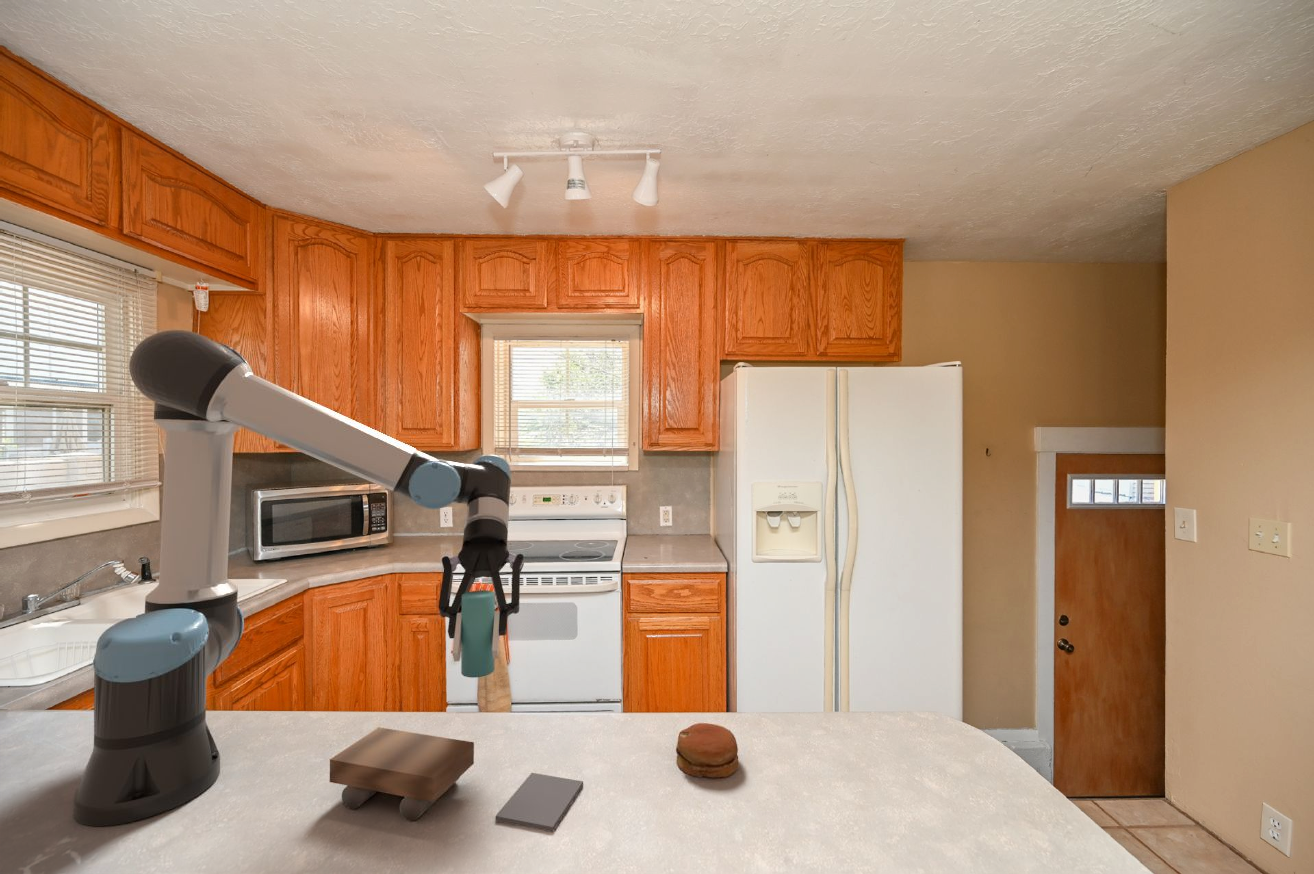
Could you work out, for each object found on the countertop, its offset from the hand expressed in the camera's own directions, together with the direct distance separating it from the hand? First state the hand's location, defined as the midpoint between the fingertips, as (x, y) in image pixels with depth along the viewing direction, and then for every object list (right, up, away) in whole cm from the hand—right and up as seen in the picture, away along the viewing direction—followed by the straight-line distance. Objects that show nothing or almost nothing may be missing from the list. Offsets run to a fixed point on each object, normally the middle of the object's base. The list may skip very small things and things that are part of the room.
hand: (475, 655), depth 87 cm
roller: (-1, -4, +4) cm, 5 cm away
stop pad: (+12, -16, -9) cm, 22 cm away
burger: (+35, -17, +1) cm, 39 cm away
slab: (-8, -16, -8) cm, 19 cm away
